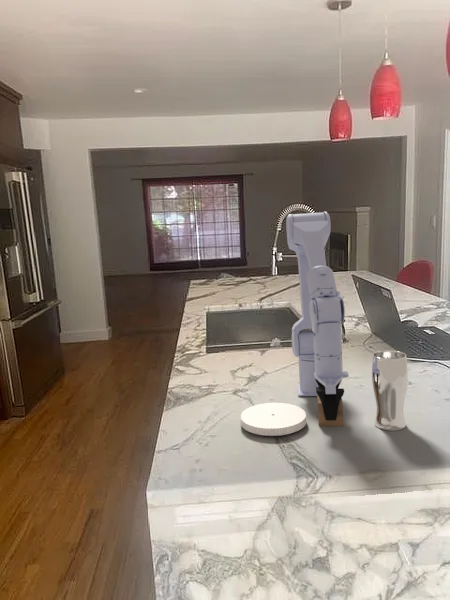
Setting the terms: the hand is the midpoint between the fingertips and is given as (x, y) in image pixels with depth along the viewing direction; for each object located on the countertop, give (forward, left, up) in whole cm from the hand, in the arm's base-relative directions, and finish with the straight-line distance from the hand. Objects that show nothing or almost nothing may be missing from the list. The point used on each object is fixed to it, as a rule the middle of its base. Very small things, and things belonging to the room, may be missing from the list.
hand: (330, 414), depth 106 cm
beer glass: (+2, +12, -2) cm, 12 cm away
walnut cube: (0, 0, -2) cm, 2 cm away
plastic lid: (+2, -12, -2) cm, 12 cm away
